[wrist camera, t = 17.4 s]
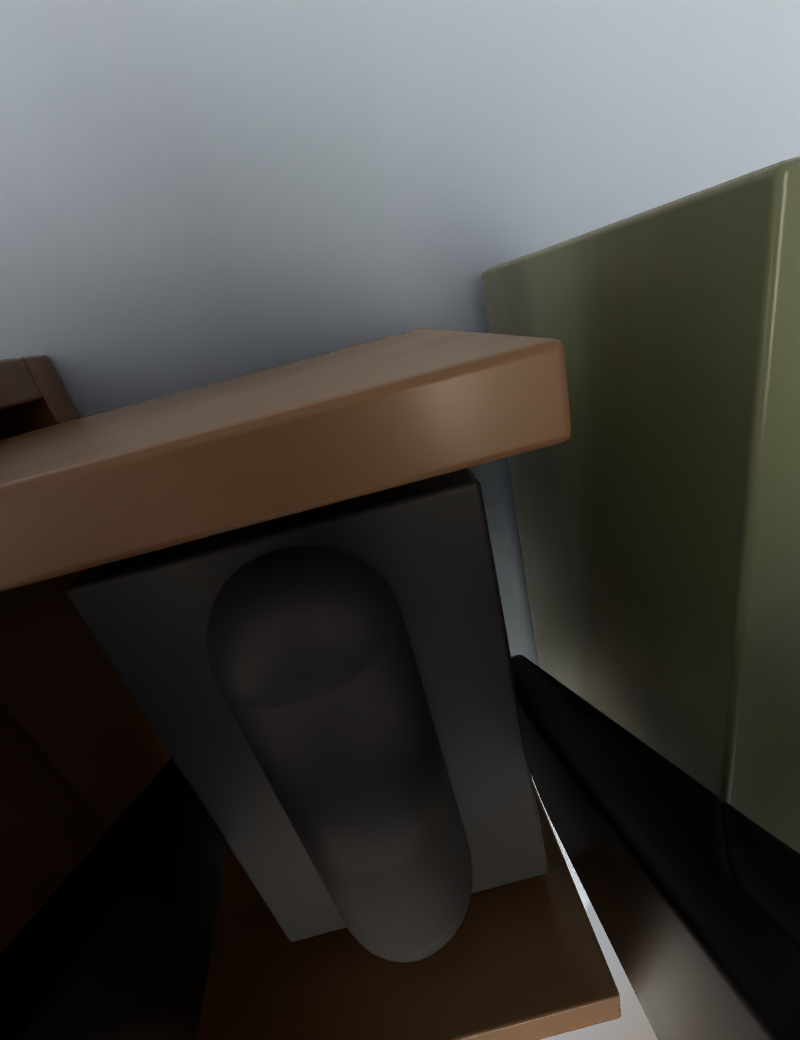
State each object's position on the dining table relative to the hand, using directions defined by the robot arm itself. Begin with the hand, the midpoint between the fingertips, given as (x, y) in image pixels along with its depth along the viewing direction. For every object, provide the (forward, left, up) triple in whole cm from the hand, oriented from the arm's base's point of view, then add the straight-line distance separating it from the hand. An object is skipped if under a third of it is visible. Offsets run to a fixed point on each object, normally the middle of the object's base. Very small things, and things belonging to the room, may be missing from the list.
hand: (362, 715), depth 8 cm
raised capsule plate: (0, 0, -1) cm, 1 cm away
